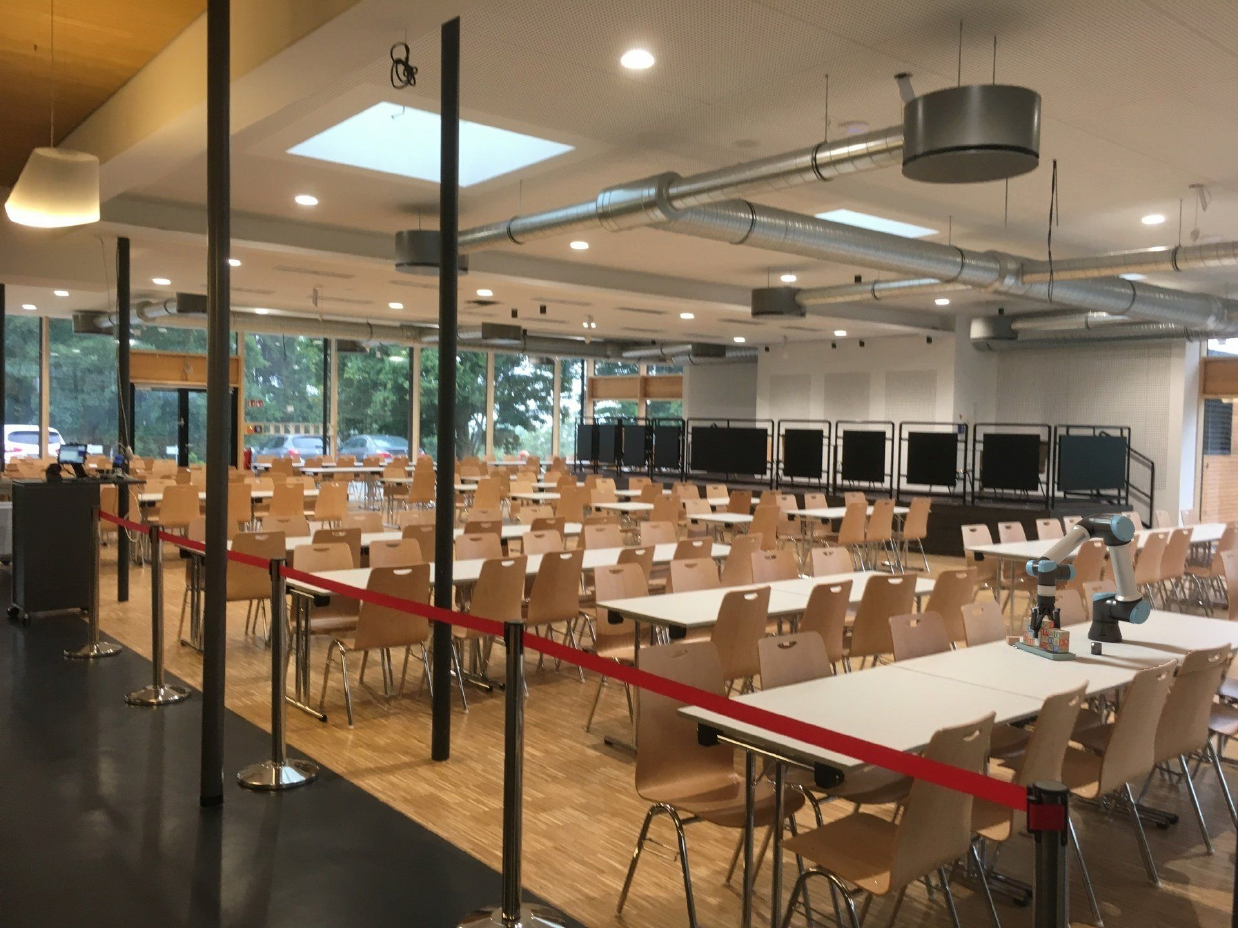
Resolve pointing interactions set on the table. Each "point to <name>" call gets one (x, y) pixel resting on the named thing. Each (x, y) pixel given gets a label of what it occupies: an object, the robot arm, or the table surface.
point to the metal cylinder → (1096, 648)
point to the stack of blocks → (1047, 636)
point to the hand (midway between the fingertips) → (1044, 645)
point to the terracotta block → (1012, 640)
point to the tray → (1045, 652)
